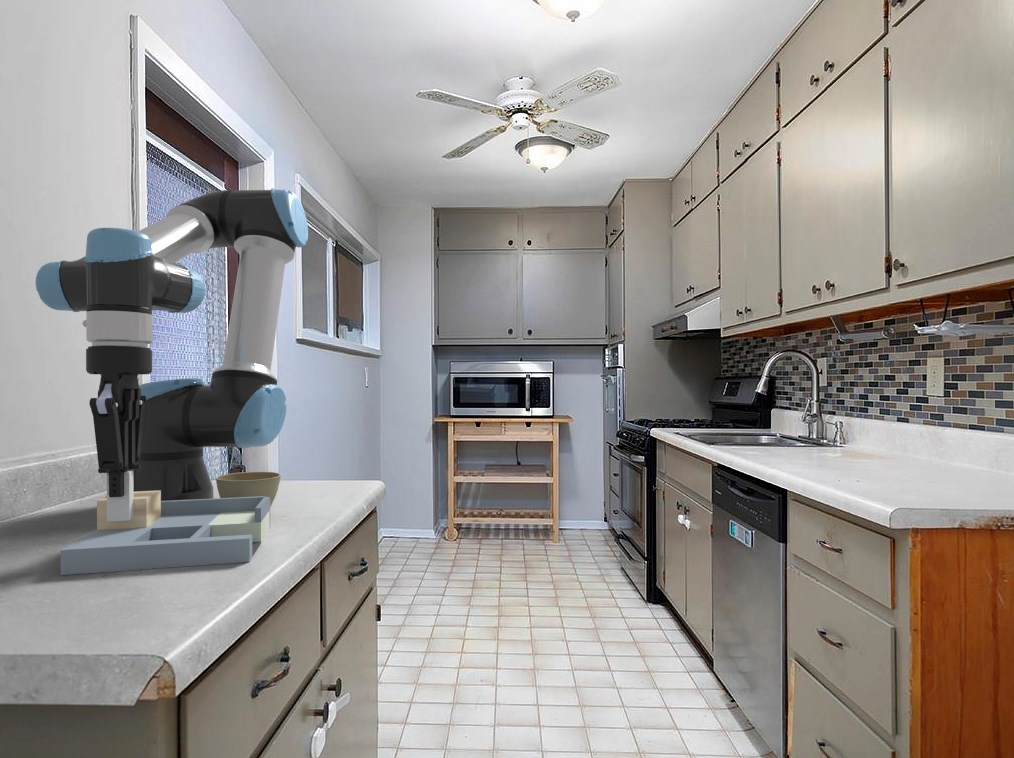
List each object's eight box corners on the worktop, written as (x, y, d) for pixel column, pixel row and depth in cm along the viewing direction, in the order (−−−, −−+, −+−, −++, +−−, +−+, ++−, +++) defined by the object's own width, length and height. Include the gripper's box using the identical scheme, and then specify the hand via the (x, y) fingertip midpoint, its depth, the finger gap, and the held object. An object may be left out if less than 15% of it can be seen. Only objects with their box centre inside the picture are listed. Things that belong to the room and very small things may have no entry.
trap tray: (120, 536, 88) (119, 502, 88) (270, 527, 93) (270, 495, 93) (60, 575, 71) (60, 533, 71) (249, 561, 76) (249, 522, 76)
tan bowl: (257, 526, 94) (257, 481, 94) (202, 523, 96) (202, 479, 96) (292, 512, 104) (292, 471, 104) (241, 510, 106) (241, 470, 106)
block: (114, 519, 86) (114, 492, 86) (160, 517, 88) (160, 490, 88) (97, 530, 80) (97, 500, 80) (146, 527, 82) (146, 498, 82)
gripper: (108, 347, 86) (108, 510, 86) (64, 342, 73) (65, 533, 73) (166, 348, 88) (166, 508, 88) (133, 342, 75) (133, 529, 75)
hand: (120, 519), depth 80 cm, fingers closed
